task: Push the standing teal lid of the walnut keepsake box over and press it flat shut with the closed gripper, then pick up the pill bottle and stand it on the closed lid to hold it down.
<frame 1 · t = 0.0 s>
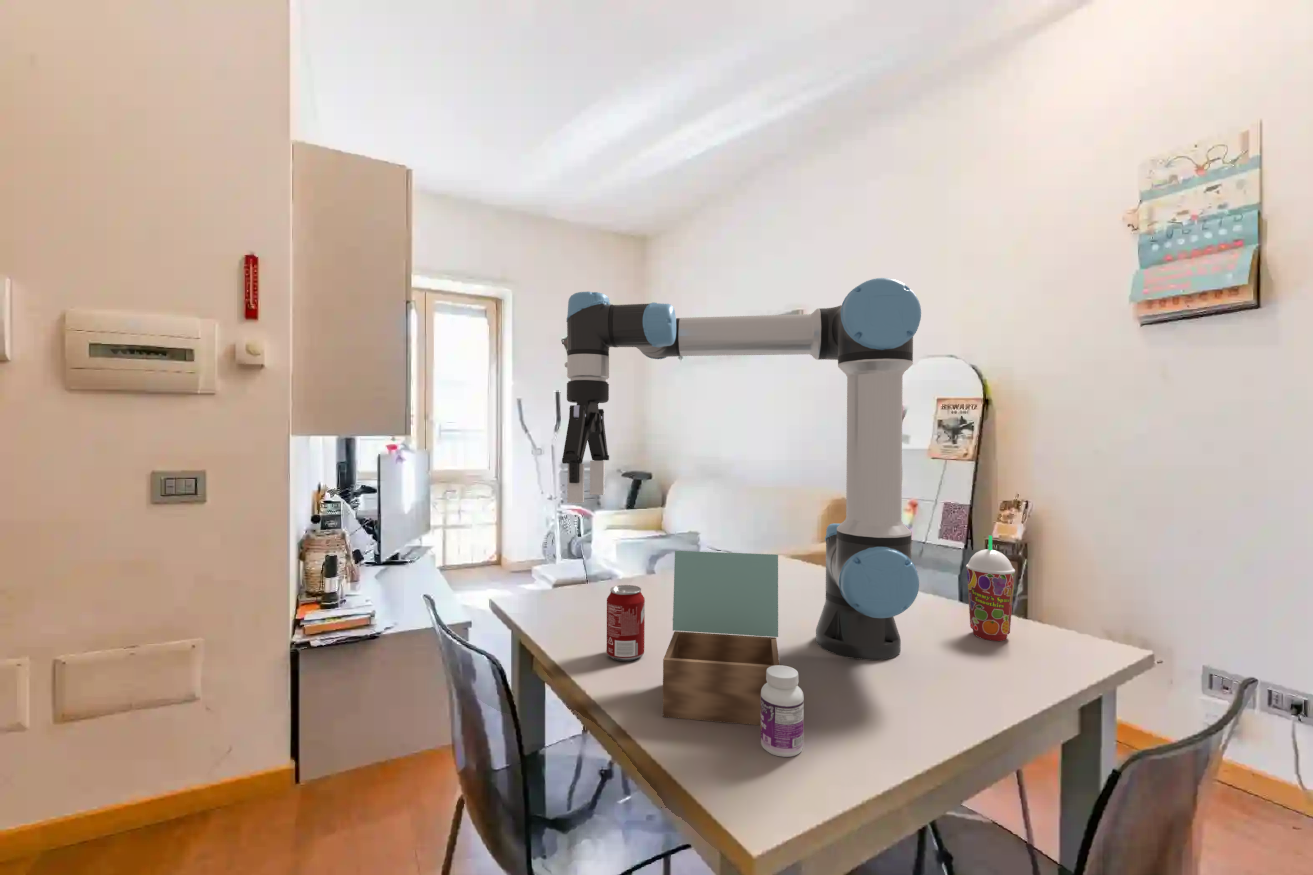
hand: (587, 498, 103), 28 cm above the table, fingers open, 13 cm apart
soda can: (625, 657, 103), on the table
lid: (725, 592, 93), point 14 cm above the table, hinge at 100.0°
pill bottle: (781, 748, 73), on the table
smoothie: (989, 637, 114), on the table
keepsake box: (722, 702, 85), on the table
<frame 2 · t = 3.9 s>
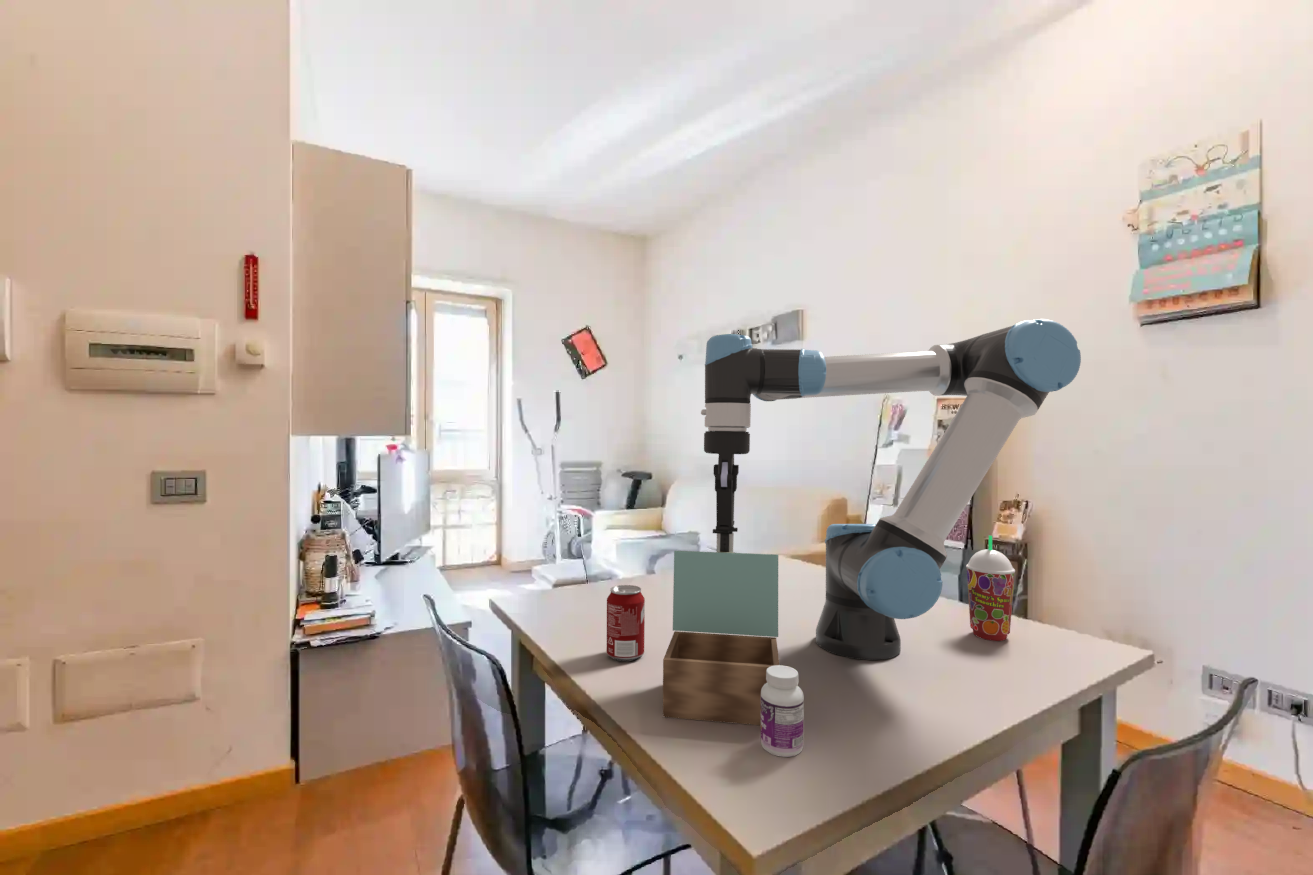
hand: (724, 571, 95), 17 cm above the table, fingers closed
lid: (725, 592, 92), point 14 cm above the table, hinge at 95.6°, touching gripper
everything else where it was.
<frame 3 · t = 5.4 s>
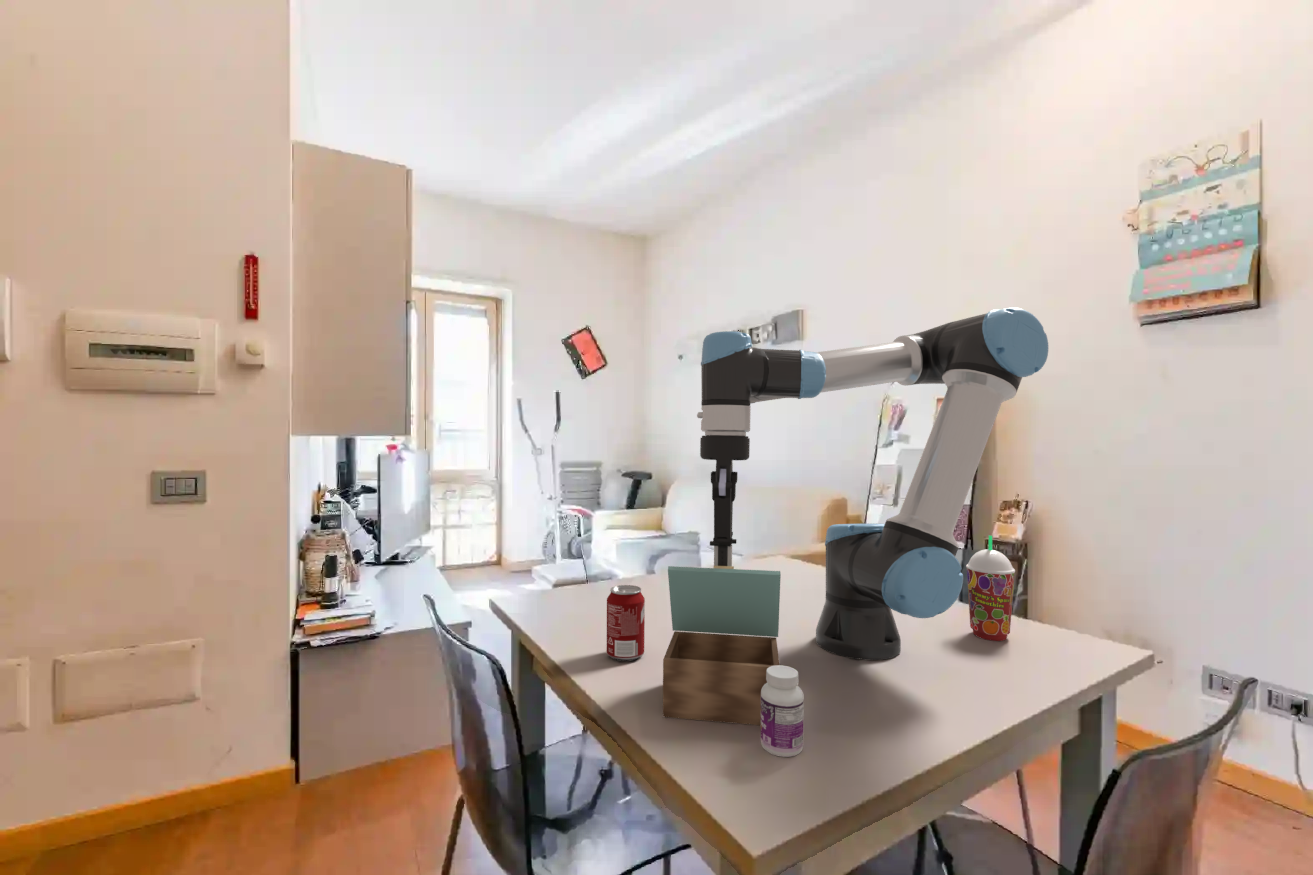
hand: (722, 587, 88), 16 cm above the table, fingers closed
lid: (724, 600, 88), point 14 cm above the table, hinge at 61.7°, touching gripper
everything else where it was.
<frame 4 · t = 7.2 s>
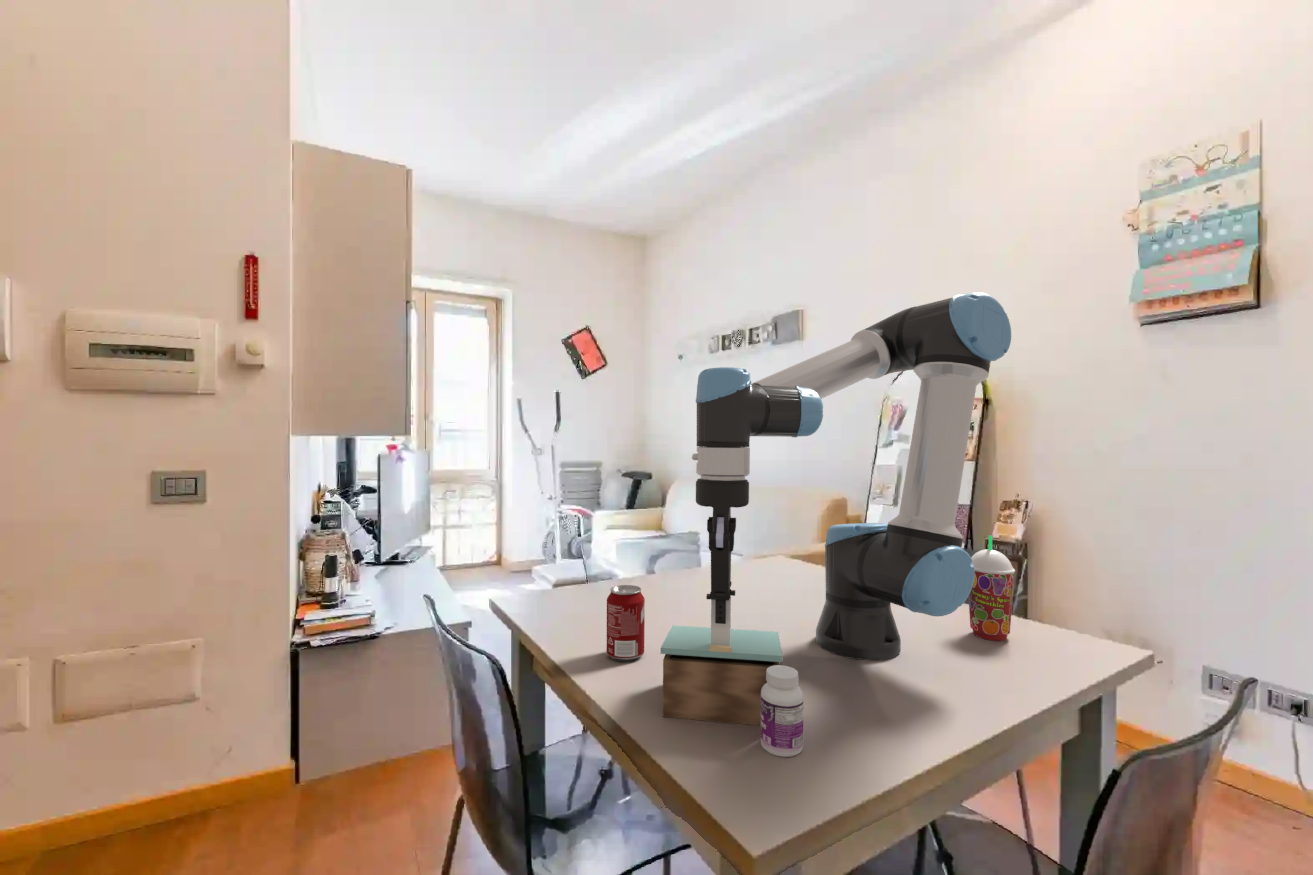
hand: (720, 643, 82), 10 cm above the table, fingers closed
lid: (722, 639, 85), point 9 cm above the table, hinge at 4.2°, touching gripper
everything else where it was.
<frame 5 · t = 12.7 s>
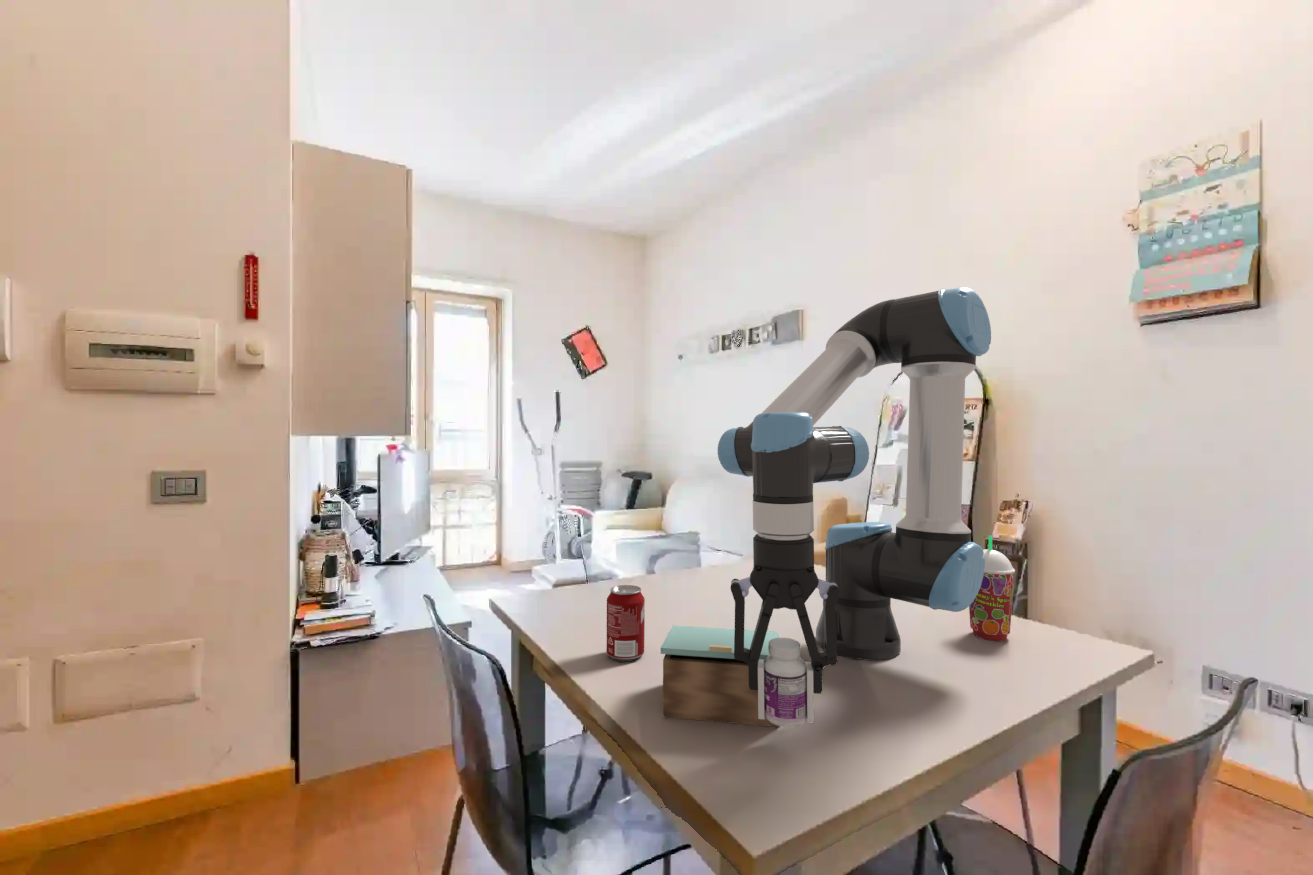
hand: (785, 714, 73), 4 cm above the table, fingers closed on pill bottle, 5 cm apart
lid: (722, 639, 85), point 9 cm above the table, hinge at 4.2°
pill bottle: (785, 719, 73), point 3 cm above the table, touching gripper
everything else where it was.
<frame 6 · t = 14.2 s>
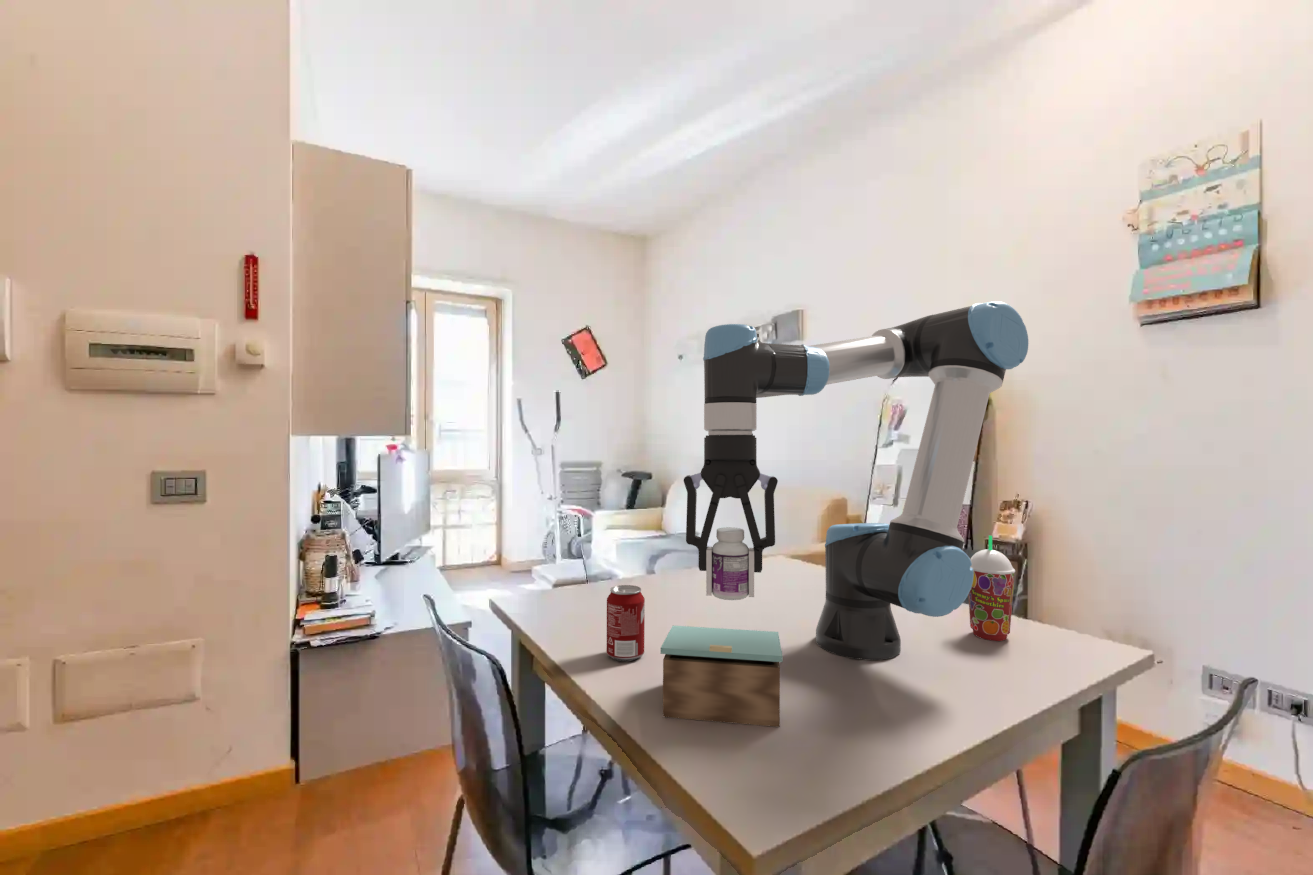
hand: (730, 593, 83), 17 cm above the table, fingers closed on pill bottle, 5 cm apart
pill bottle: (730, 597, 83), point 16 cm above the table, touching gripper
everything else where it was.
when the fingers open (9 cm above the table, at t = 16.0 s): pill bottle stays where it is, resting on lid.
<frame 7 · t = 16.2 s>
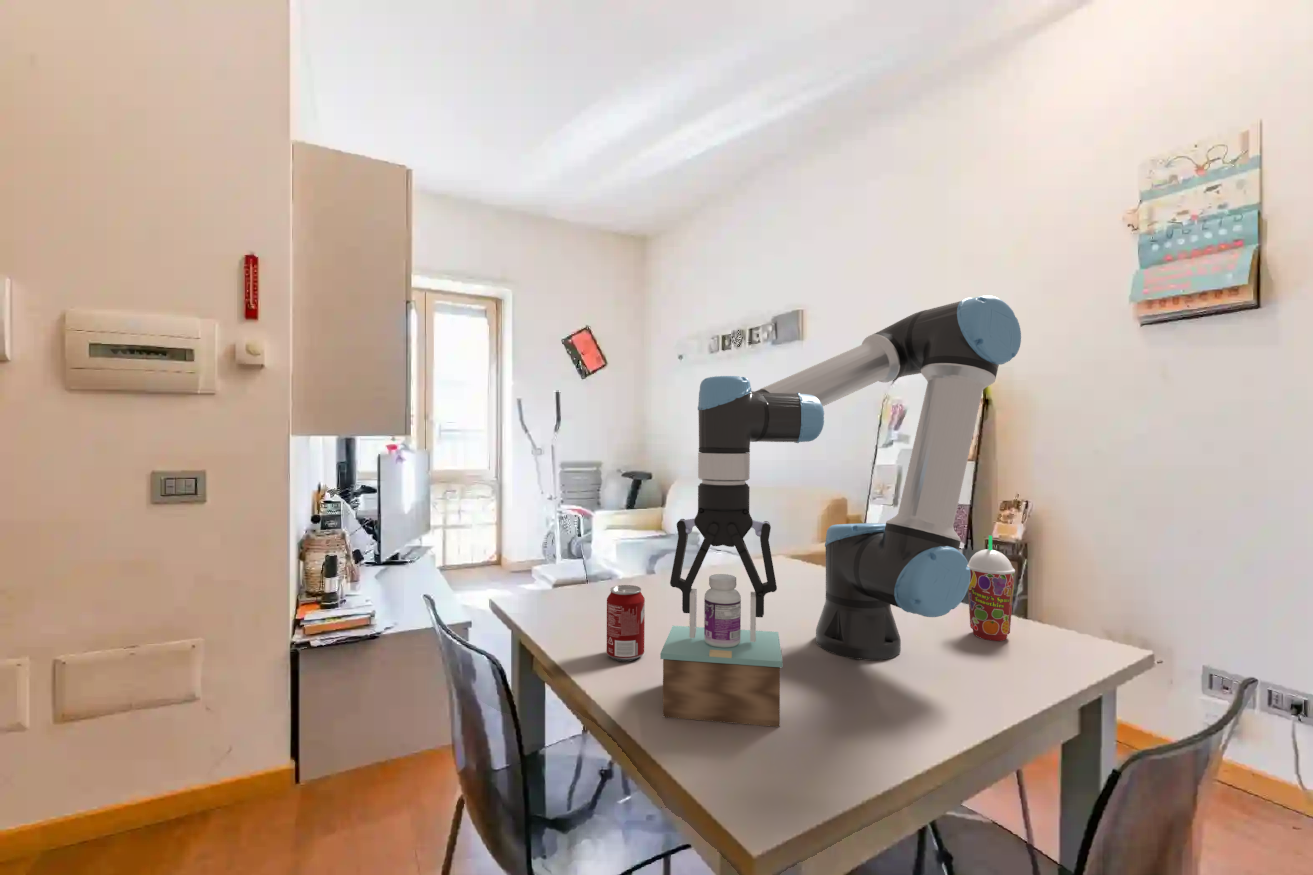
hand: (722, 636, 84), 10 cm above the table, fingers open, 8 cm apart
lid: (722, 642, 85), point 9 cm above the table, hinge at 1.0°, touching pill bottle
pill bottle: (722, 643, 84), point 9 cm above the table, touching lid
everything else where it was.
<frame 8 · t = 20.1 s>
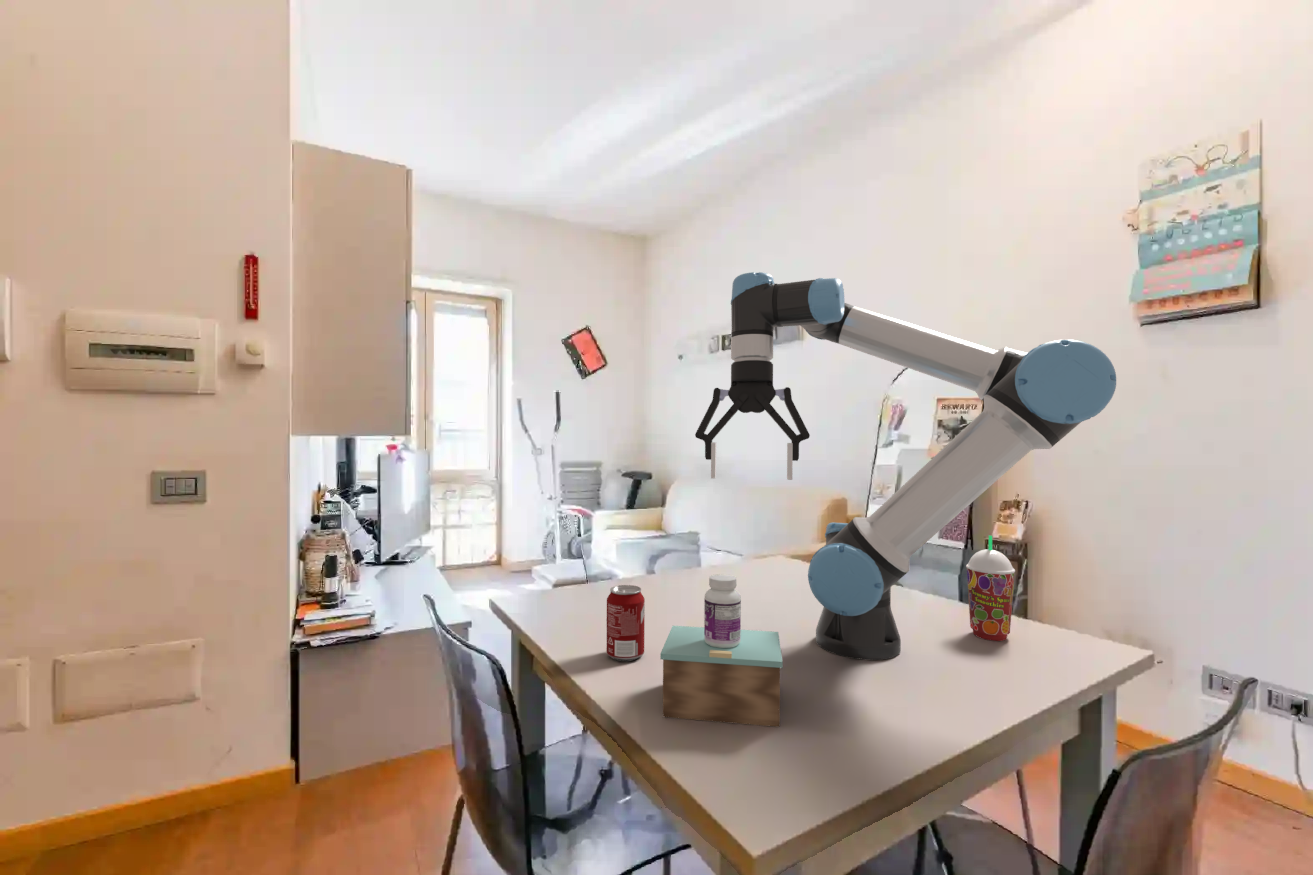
hand: (751, 478, 104), 32 cm above the table, fingers open, 13 cm apart
nothing on the table moved.
at the end: lid at +1° (first picture: +100°); pill bottle inside the target area on the keepsake box (0.4 cm from its centre), point 8.8 cm above the keepsake box's base; pill bottle tilted 1° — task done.
